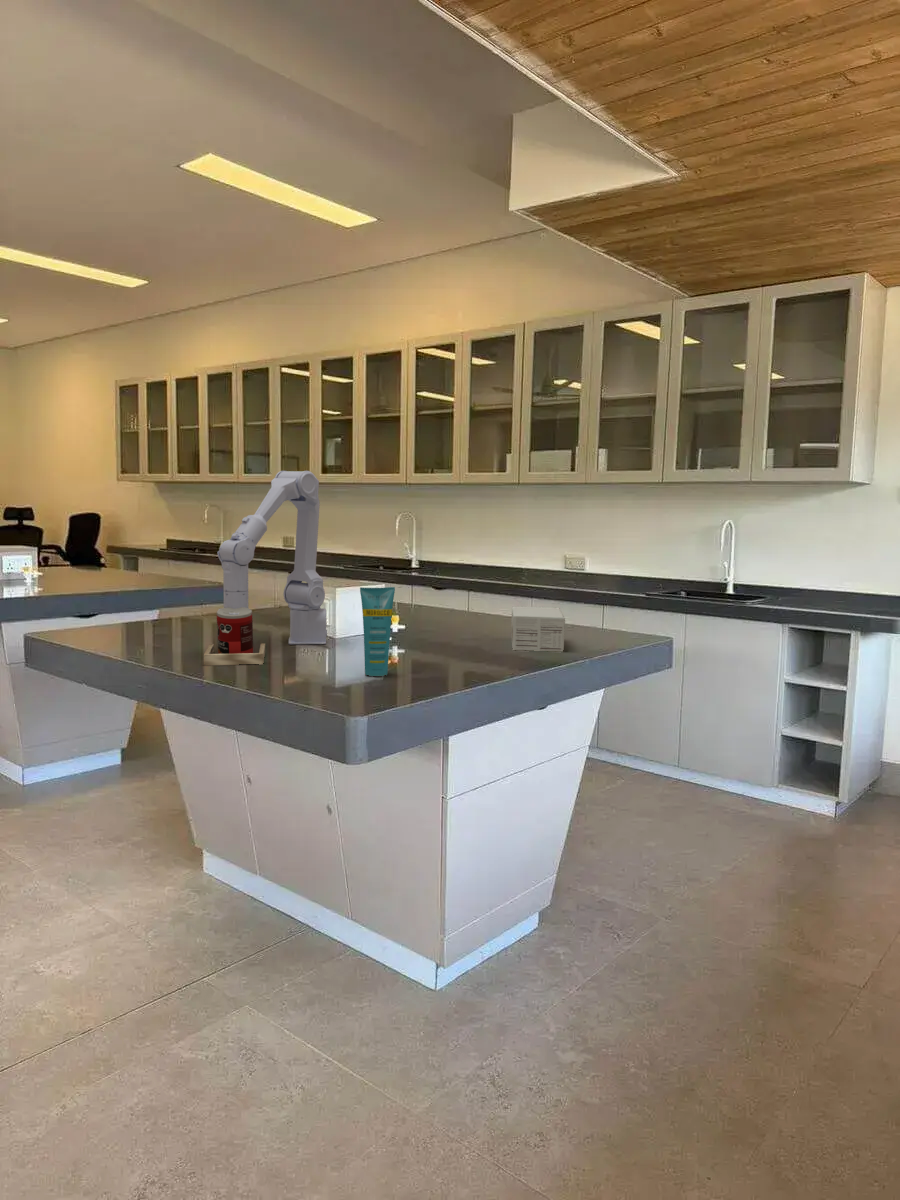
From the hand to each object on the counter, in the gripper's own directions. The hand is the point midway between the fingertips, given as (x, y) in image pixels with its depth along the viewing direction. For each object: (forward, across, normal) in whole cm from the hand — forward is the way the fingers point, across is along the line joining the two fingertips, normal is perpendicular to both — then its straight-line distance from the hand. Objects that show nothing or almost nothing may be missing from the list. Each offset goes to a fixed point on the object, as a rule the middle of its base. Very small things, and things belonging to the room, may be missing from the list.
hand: (236, 647), depth 203 cm
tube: (+2, +25, +31) cm, 40 cm away
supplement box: (+2, -7, +76) cm, 76 cm away
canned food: (+2, +4, 0) cm, 4 cm away
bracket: (+2, +5, 0) cm, 5 cm away
